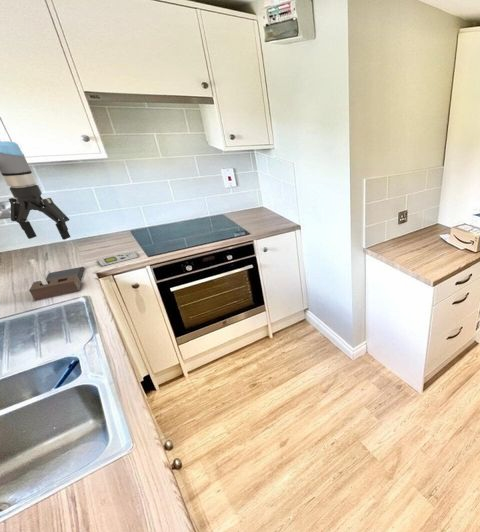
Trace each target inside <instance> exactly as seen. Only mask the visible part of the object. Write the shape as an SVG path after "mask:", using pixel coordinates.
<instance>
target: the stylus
mask: <svg viewBox="0 0 480 532" xmlns="http://www.w3.org/2000/svg"><path fill="white" fill-rule="evenodd" d="M28 261H29V263H30V265H31V266H32V268H33V270H34V271H35V273H36V275H37V277H38V279H39V281H41V282H42V284H43V285H46V284H48V283H47V281H46V277H45V275H44V274H43V272H42V270H41V267H40V266H39V264H38V263H37V261H36V259H35V258H31V259H29V260H28Z"/></svg>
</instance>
